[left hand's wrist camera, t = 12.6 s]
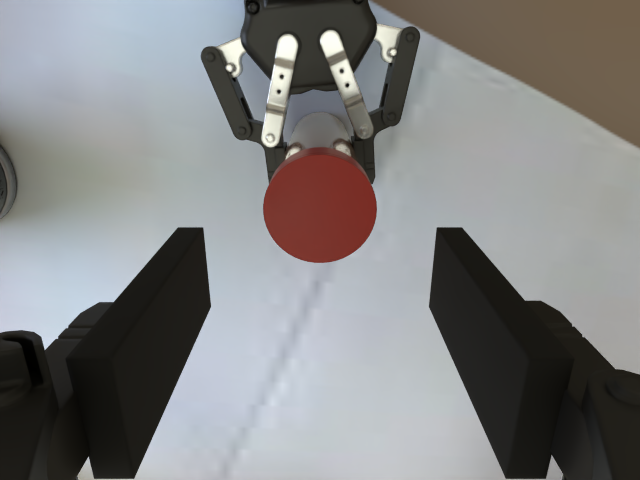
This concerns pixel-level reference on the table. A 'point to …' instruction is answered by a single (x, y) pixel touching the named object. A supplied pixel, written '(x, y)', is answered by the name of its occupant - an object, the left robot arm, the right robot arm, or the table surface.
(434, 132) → the table surface
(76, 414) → the left robot arm
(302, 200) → the lid
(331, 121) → the jar
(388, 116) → the right robot arm
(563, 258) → the table surface
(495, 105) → the table surface
